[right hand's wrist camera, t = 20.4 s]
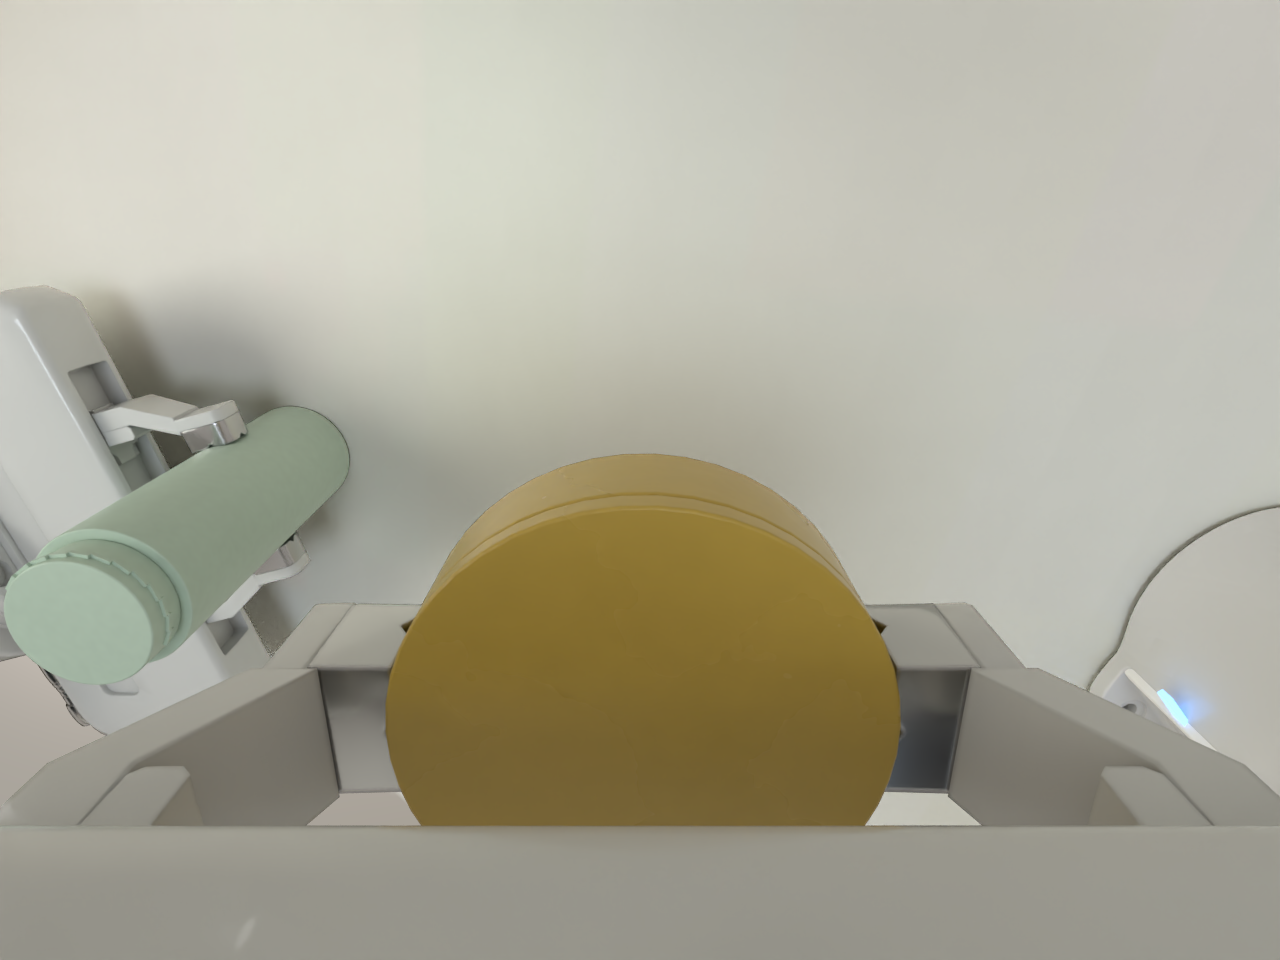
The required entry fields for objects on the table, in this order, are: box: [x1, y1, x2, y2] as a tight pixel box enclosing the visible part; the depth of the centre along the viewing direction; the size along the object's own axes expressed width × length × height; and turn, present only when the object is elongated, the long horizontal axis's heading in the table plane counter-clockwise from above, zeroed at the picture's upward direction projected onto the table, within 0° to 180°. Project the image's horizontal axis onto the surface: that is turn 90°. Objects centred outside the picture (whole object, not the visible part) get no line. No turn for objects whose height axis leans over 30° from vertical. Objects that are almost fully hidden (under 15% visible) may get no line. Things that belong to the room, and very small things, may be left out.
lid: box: [385, 454, 901, 826], centre depth 9 cm, size 6×6×2 cm
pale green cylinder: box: [4, 406, 349, 685], centre depth 29 cm, size 5×5×16 cm
